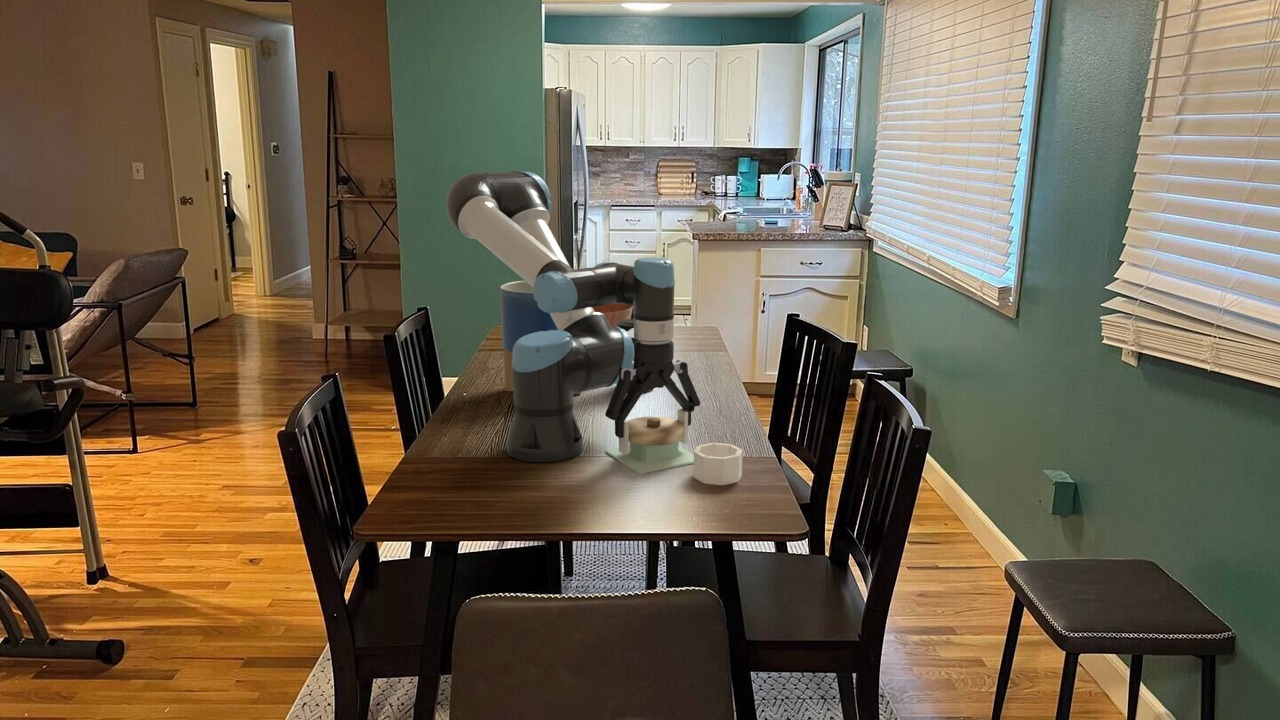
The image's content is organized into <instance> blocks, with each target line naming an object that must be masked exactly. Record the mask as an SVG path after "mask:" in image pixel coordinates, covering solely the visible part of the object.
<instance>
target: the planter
mask: <svg viewBox="0 0 1280 720" xmlns="http://www.w3.org/2000/svg"><path fill="white" fill-rule="evenodd" d="M499 289H500V291H499V292H500V316H501V317H500V318H501V320H500V322H501V342H502V343H501V345H502V348H503V353H504V354H503V356H504V357H503V358H504V359H503V360H504V382H505V383H504V384H505V388H504V389H505V391H506V392H507V391H508V392H514V387H513V367H512V358H513V347H514V344H515V343H516V341H517V340H518V339H520V338H521V337H523V336H525V335H528V334H531V333H535V332H539V331H548V330H558V329H557V327H556V325H555V323H554V321H553V319H552V317H551V315H550V314H549V313H547V312H544V311H542V310H541V309H540V308H539V307H538V304H537V301H535V299H534V295H533V287H532V286H531V285H530V284H529V283H527V282H526V281H525V280H518V281H511V282H507V283H504V284H502V285H500V287H499ZM575 394H581V395H582V394H583V392H580V393H575Z"/></svg>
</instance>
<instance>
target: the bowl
mask: <svg viewBox="0 0 1280 720" xmlns="http://www.w3.org/2000/svg"><path fill="white" fill-rule="evenodd" d="M592 308H593V309H594V311H595V312H599V313H602V314H604V315H605V316H606V318H607V320H608V322H609V323H610V325H611V327H618V325H617V324H616V322H617V321H620V320H625V319H632V314H633V310H634V306H631V305H626V304H610V305H603V306H597V307H592Z"/></svg>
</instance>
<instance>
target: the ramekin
mask: <svg viewBox="0 0 1280 720" xmlns="http://www.w3.org/2000/svg"><path fill="white" fill-rule="evenodd" d="M693 454H694V463H693V473H692V474H693V475H692V477H693V478H694V479H695V480H696V481H699V482H701V483H703V484H707V485H715V486H716V485H717V486H726V485H731V484H735V483H739V482H740V480H741V478H742V475H743V449H742V448H740V447H738V446H736V445H734V444H731V443H722V442H720V443H719V442H709V443H706V444H699V445H697V446H696V448H695V449H694V451H693Z"/></svg>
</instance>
